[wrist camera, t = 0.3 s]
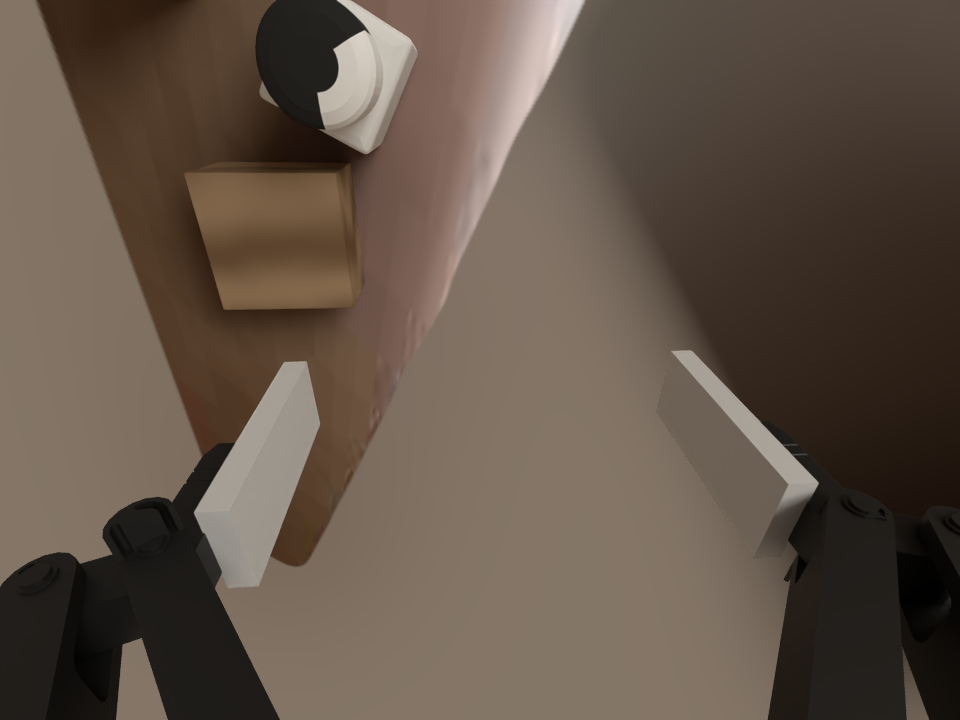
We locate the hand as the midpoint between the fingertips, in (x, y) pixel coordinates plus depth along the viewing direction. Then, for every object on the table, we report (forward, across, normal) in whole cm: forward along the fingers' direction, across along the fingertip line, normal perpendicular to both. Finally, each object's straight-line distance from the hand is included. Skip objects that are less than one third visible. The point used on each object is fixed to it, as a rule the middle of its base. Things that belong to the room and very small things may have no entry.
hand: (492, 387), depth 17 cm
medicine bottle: (+26, -8, +11) cm, 29 cm away
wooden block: (+26, -14, 0) cm, 30 cm away
